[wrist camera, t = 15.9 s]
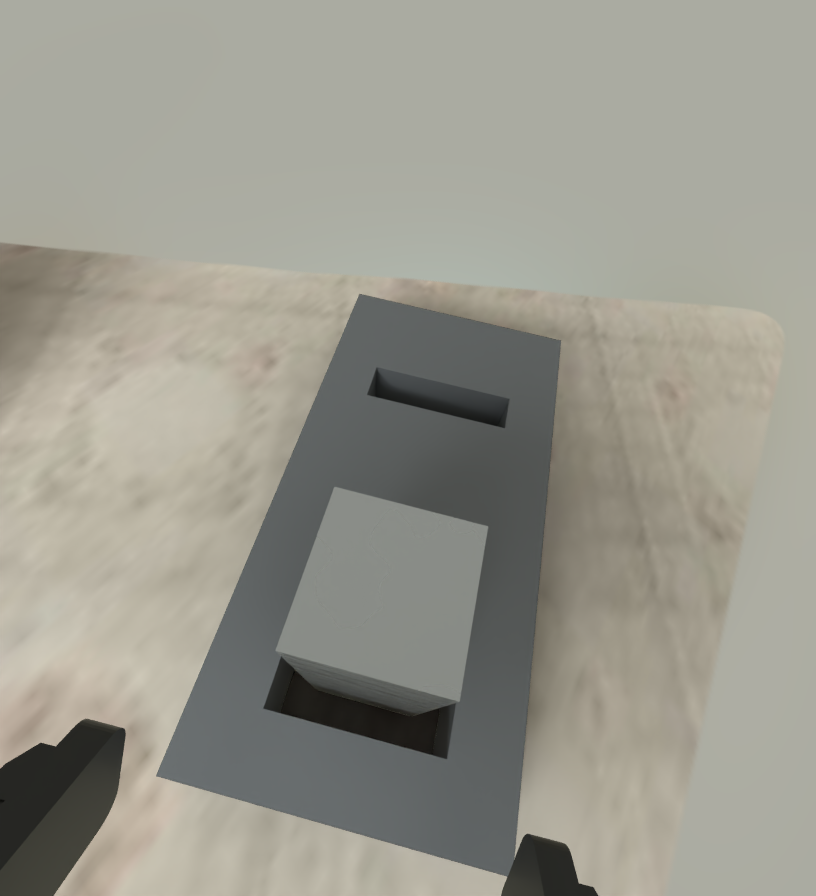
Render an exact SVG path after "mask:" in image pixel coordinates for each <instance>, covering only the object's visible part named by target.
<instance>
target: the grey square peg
mask: <svg viewBox="0 0 816 896" xmlns="http://www.w3.org/2000/svg"><path fill="white" fill-rule="evenodd" d="M487 531H488V526H485V525H481V524H477V523H473V522H470V521H466V520H462V519H458V518H454V517H450V516H446V515H442V514H439V513H435V512H431V511H427V510H423V509H419V508H415V507H412V506H408V505H404V504H400V503H396V502H392V501H388V500H384V499H381V498H377V497H373V496H369V495H365V494H361V493H357V492H354V491H350V490H346V489H342V488H338V487H334V489H333V492H332V495H331V498H330V501H329V503H328V506H327V509H326V512H325V514H324V517H323V520H322V523H321V525H320V528H319V531H318V534H317V537H316V539H315V542H314V545H313V548H312V550H311V553H310V556H309V559H308V561H307V564H306V567H305V570H304V573H303V575H302V578H301V581H300V584H299V586H298V589H297V592H296V595H295V598H294V600H293V603H292V606H291V609H290V611H289V614H288V617H287V620H286V622H285V625H284V628H283V631H282V634H281V636H280V639H279V642H278V645H277V647H276V650H275V651H276V652H277V653H278V654H279V655H280V656H281V657H282V658H283V659H284V660H286V661H287V662H288V663H289V664H290V665H291V666H292V667H293V668H294V669H295V670H296V671H297V672H298V673H299V674H300V675H301V676H302V677H303V678H304V679H305V680H306V681H307V682H309V683H310V684H311V685H312V686H313V687H314V688H315V689H316V690H318V691H322V692H325V693H329V694H332V695H336V696H339V697H343V698H346V699H350V700H354V701H357V702H361V703H364V704H368V705H371V706H375V707H379V708H382V709H386V710H389V711H393V712H396V713H400V714H404V715H407V716H415V715H418V714H421V713H424V712H428V711H431V710H434V709H438V708H441V707H444V706H448V705H451V704H454V703H458V702H460V696H461V690H462V684H463V678H464V672H465V666H466V659H467V653H468V647H469V641H470V635H471V629H472V623H473V617H474V610H475V604H476V598H477V592H478V586H479V580H480V574H481V568H482V561H483V555H484V549H485V543H486V537H487Z"/></svg>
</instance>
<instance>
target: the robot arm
mask: <svg viewBox="0 0 816 896" xmlns="http://www.w3.org/2000/svg"><path fill="white" fill-rule="evenodd" d="M125 734H126V733H125V729H124V728H120V727H117V726H113V725H109V724H105V723H101V722H98V721H94V720H90V719H84V720H82V721H81V722H79V723H78V724H77V725H76V726H75V727H74V728H73V729H72V730H71V731H70V732H69V733H68V734H67V735H66V736H65V737H64V738H63V740H62V741H61V742H60V743H59V744H58V745H57V746H56V747H55V746H52V745H48V744H44V743H40V744H38V745H36V746H35V747H33V748H31V749H30V750H28V751H26V752H25V753H23V754H21V755H20V756H18V757H16V758H15V759H13V760H11V761H10V762H8V763H6V764H5V765H4V766H3V767H2V768H1V769H0V896H53V895H54V894H55V893H56V891H57V890H58V888H59V887H60V885H61V884H62V882H63V881H64V880H65V878H66V877H67V875H68V874H69V872H70V871H71V870H72V868H73V867H74V865H75V864H76V862H77V861H78V859H79V858H80V857H81V855H82V854H83V852H84V851H85V849H86V848H87V846H88V845H89V844H90V842H91V841H92V839H93V838H94V836H95V835H96V833H97V832H98V831H99V829H100V828H101V826H102V824H103V823H104V821H105V819H106V817H107V816H108V814H109V812H110V810H111V807H112V805H113V803H114V800H115V797H116V794H117V791H118V786H119V779H120V771H121V764H122V757H123V750H124V743H125ZM501 896H598V894H597V893H596V891H595V889H594V888H593V887H590V886H587V885H583V884H579V883H578V879H577V875H576V871H575V867H574V863H573V860H572V856H571V853H570V850H569V848H568V847H567V845H566V844H564V843H561V842H557V841H553V840H550V839H546V838H542V837H538V836H534V835H531V834H526V835H525V836H524V837H523V839H522V842H521V844H520V847H519V849H518V852H517V854H516V857H515V860H514V862H513V865H512V867H511V870H510V872H509V875H508V877H507V880H506V882H505V885H504V887H503V891H502V895H501Z"/></svg>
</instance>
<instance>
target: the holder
mask: <svg viewBox="0 0 816 896" xmlns="http://www.w3.org/2000/svg"><path fill="white" fill-rule="evenodd" d="M560 346H561V341H560V340H556V339H552V338H547V337H543V336H539V335H534V334H530V333H526V332H521V331H517V330H513V329H509V328H504V327H500V326H496V325H491V324H487V323H483V322H478V321H474V320H470V319H465V318H461V317H457V316H452V315H448V314H444V313H440V312H435V311H431V310H427V309H422V308H418V307H414V306H409V305H405V304H401V303H396V302H392V301H388V300H383V299H379V298H375V297H371V296H366V295H362V294H359V297H358V299H357V301H356V304H355V306H354V308H353V311H352V313H351V316H350V318H349V320H348V323H347V325H346V327H345V330H344V332H343V334H342V337H341V339H340V342H339V344H338V346H337V349H336V351H335V353H334V356H333V358H332V361H331V363H330V365H329V368H328V370H327V372H326V375H325V377H324V379H323V382H322V384H321V387H320V389H319V391H318V394H317V396H316V398H315V401H314V403H313V405H312V408H311V410H310V413H309V415H308V417H307V420H306V422H305V424H304V427H303V429H302V432H301V434H300V436H299V439H298V441H297V443H296V446H295V448H294V450H293V453H292V455H291V458H290V460H289V462H288V465H287V467H286V469H285V472H284V474H283V477H282V479H281V481H280V484H279V486H278V488H277V491H276V493H275V495H274V498H273V500H272V503H271V505H270V507H269V510H268V512H267V514H266V517H265V519H264V521H263V524H262V526H261V529H260V531H259V533H258V536H257V538H256V540H255V543H254V545H253V548H252V550H251V552H250V555H249V557H248V559H247V562H246V564H245V566H244V569H243V571H242V574H241V576H240V578H239V581H238V583H237V585H236V588H235V590H234V593H233V595H232V597H231V600H230V602H229V604H228V607H227V609H226V611H225V614H224V616H223V619H222V621H221V623H220V626H219V628H218V630H217V633H216V635H215V637H214V640H213V642H212V645H211V647H210V649H209V652H208V654H207V656H206V659H205V661H204V664H203V666H202V668H201V671H200V673H199V675H198V678H197V680H196V682H195V685H194V687H193V690H192V692H191V694H190V697H189V699H188V701H187V704H186V706H185V708H184V711H183V713H182V716H181V718H180V720H179V723H178V725H177V727H176V730H175V732H174V735H173V737H172V739H171V742H170V744H169V746H168V749H167V751H166V753H165V756H164V758H163V761H162V763H161V765H160V768H159V770H158V772H157V775H156V776H158V777H161V778H165V779H168V780H172V781H175V782H179V783H182V784H186V785H189V786H193V787H196V788H200V789H203V790H207V791H210V792H214V793H217V794H221V795H224V796H228V797H231V798H235V799H238V800H242V801H245V802H249V803H252V804H256V805H259V806H263V807H266V808H270V809H273V810H276V811H280V812H283V813H287V814H290V815H294V816H297V817H301V818H304V819H308V820H311V821H315V822H318V823H322V824H325V825H329V826H332V827H336V828H339V829H343V830H346V831H350V832H353V833H357V834H360V835H364V836H367V837H371V838H374V839H378V840H381V841H385V842H388V843H392V844H395V845H399V846H402V847H406V848H409V849H413V850H416V851H420V852H423V853H427V854H430V855H434V856H437V857H441V858H444V859H448V860H451V861H455V862H458V863H462V864H465V865H469V866H472V867H476V868H479V869H483V870H486V871H490V872H493V873H497V874H500V875H504V876H507V877H508V875H509V872H510V870H511V867H512V865H513V862H514V856H515V845H516V834H517V822H518V811H519V800H520V789H521V778H522V767H523V756H524V745H525V734H526V723H527V712H528V701H529V690H530V678H531V667H532V656H533V645H534V634H535V623H536V612H537V601H538V590H539V579H540V568H541V557H542V546H543V534H544V523H545V512H546V501H547V490H548V479H549V468H550V457H551V446H552V435H553V424H554V413H555V402H556V390H557V379H558V368H559V357H560ZM334 487H338V488H342V489H346V490H350V491H354V492H357V493H361V494H365V495H369V496H373V497H377V498H381V499H384V500H388V501H392V502H396V503H400V504H404V505H408V506H412V507H415V508H419V509H423V510H427V511H431V512H435V513H439V514H442V515H446V516H450V517H454V518H458V519H462V520H466V521H470V522H473V523H477V524H481V525H485V526H488V531H487V537H486V543H485V549H484V555H483V561H482V568H481V574H480V580H479V586H478V592H477V598H476V604H475V610H474V617H473V623H472V629H471V635H470V641H469V647H468V653H467V659H466V666H465V672H464V678H463V684H462V690H461V696H460V702H458V703H454V704H451V705H448V706H444V707H441V708H440V711H439V717H438V723H437V728H436V734H435V740H434V745H433V751H432V754H428V753H424V752H421V751H417V750H414V749H410V748H406V747H403V746H399V745H395V744H392V743H388V742H385V741H381V740H377V739H374V738H370V737H366V736H363V735H359V734H356V733H352V732H348V731H345V730H341V729H337V728H334V727H330V726H327V725H323V724H319V723H316V722H312V721H308V720H305V719H301V718H298V717H294V716H290V715H287V714H283V713H280V712H281V709H282V706H283V703H284V700H285V697H286V694H287V690H288V687H289V684H290V681H291V678H292V675H293V672H294V668H293V667H292V666H291V665H290V664H289V663H288V662H287V661H286V660H284V659H283V658H282V657H281V656H280V655H279V654H278V653H277V652H276V651H275V650H276V647H277V645H278V642H279V639H280V636H281V634H282V631H283V628H284V625H285V622H286V620H287V617H288V614H289V611H290V609H291V606H292V603H293V600H294V598H295V595H296V592H297V589H298V586H299V584H300V581H301V578H302V575H303V573H304V570H305V567H306V564H307V561H308V559H309V556H310V553H311V550H312V548H313V545H314V542H315V539H316V537H317V534H318V531H319V528H320V525H321V523H322V520H323V517H324V514H325V512H326V509H327V506H328V503H329V501H330V498H331V495H332V492H333V489H334Z"/></svg>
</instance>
